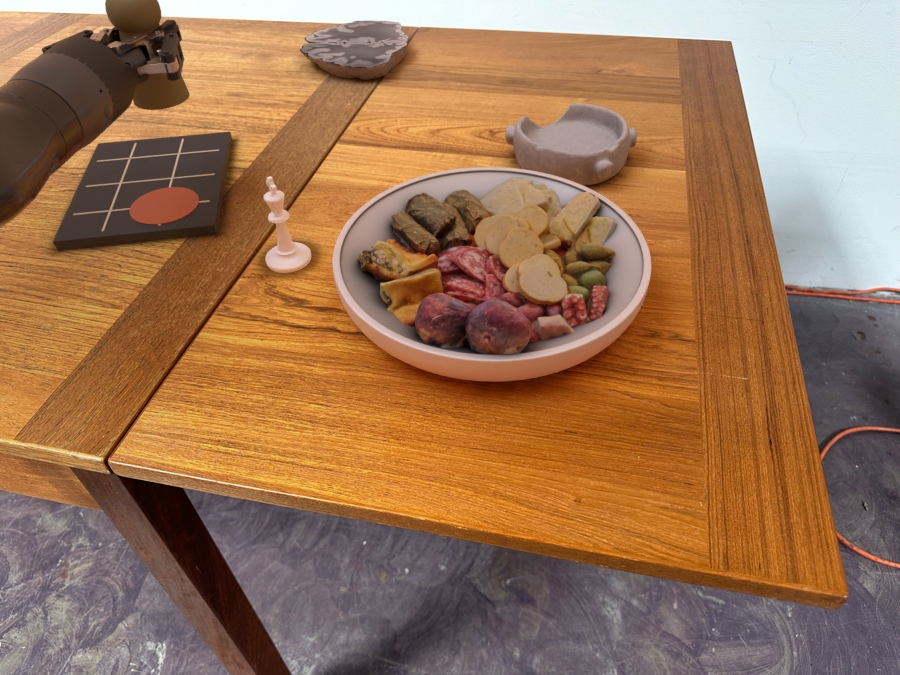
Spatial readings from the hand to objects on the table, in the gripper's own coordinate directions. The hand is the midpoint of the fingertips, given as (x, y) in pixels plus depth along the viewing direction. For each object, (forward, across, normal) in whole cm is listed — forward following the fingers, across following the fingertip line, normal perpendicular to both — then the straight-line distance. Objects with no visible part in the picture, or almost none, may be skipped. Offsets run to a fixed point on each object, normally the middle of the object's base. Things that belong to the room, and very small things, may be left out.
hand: (154, 28), depth 72 cm
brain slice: (+36, -12, +17) cm, 42 cm away
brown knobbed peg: (-3, 0, +7) cm, 7 cm away
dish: (+7, -47, +17) cm, 50 cm away
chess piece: (-16, -17, +18) cm, 29 cm away
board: (-5, +4, +18) cm, 19 cm away
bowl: (-19, -38, +17) cm, 46 cm away
